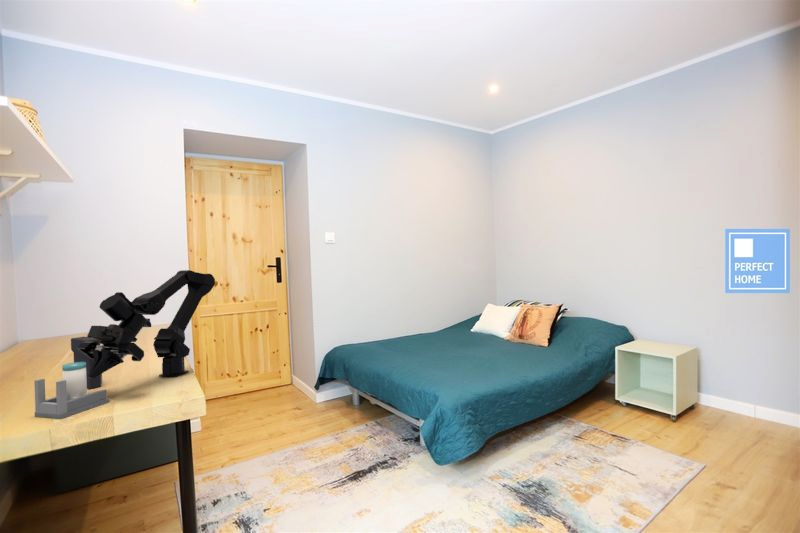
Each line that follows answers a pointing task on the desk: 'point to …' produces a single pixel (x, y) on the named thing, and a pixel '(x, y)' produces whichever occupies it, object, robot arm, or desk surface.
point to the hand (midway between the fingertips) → (90, 377)
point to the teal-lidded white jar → (75, 379)
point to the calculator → (86, 360)
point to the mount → (64, 401)
